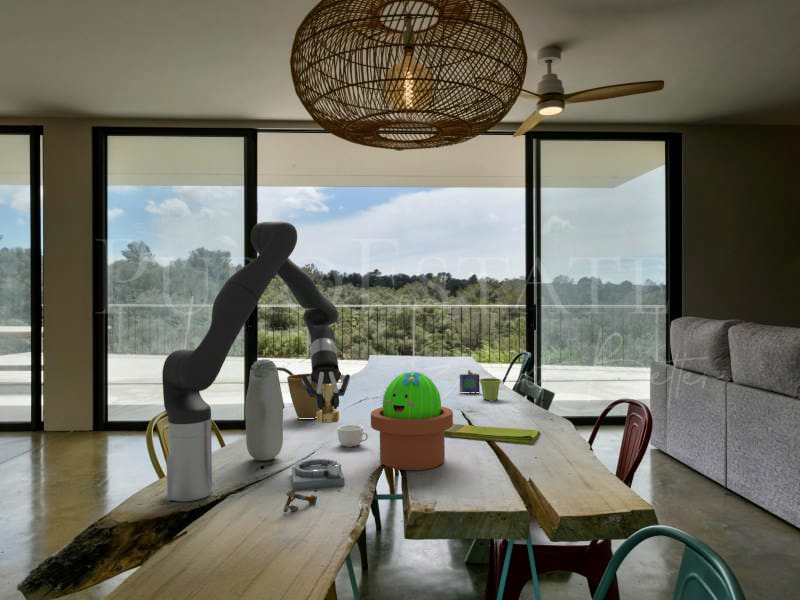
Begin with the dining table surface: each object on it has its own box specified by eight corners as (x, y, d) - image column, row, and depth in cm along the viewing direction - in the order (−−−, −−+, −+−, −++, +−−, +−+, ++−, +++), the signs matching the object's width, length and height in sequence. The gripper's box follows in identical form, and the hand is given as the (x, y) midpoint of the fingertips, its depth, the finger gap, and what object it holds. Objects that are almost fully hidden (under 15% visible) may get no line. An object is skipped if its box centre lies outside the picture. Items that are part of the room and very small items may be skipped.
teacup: (332, 446, 164) (332, 429, 164) (346, 440, 171) (346, 423, 171) (360, 450, 160) (360, 432, 160) (374, 444, 167) (373, 426, 166)
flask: (459, 393, 253) (459, 370, 253) (459, 392, 256) (459, 369, 256) (479, 393, 252) (479, 370, 252) (479, 392, 255) (479, 369, 255)
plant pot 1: (323, 412, 214) (323, 372, 214) (331, 420, 200) (330, 377, 200) (285, 415, 210) (284, 374, 210) (290, 423, 195) (289, 379, 195)
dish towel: (437, 426, 192) (436, 416, 192) (540, 434, 178) (540, 425, 178) (421, 436, 178) (421, 426, 178) (532, 446, 163) (532, 436, 163)
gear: (317, 424, 143) (317, 386, 143) (316, 419, 149) (315, 382, 149) (340, 422, 145) (339, 385, 145) (337, 418, 150) (337, 381, 150)
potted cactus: (395, 446, 163) (394, 363, 163) (464, 455, 153) (463, 367, 153) (356, 467, 144) (355, 372, 144) (432, 479, 134) (431, 377, 134)
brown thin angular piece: (278, 510, 113) (285, 488, 114) (306, 515, 119) (312, 493, 120) (283, 512, 112) (290, 490, 113) (311, 517, 117) (317, 495, 119)
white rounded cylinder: (243, 457, 154) (242, 358, 154) (280, 452, 158) (278, 356, 158) (248, 467, 145) (247, 362, 145) (286, 462, 149) (285, 360, 149)
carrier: (293, 490, 127) (292, 466, 127) (291, 472, 140) (291, 450, 140) (344, 485, 130) (344, 462, 130) (338, 468, 143) (338, 447, 143)
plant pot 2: (503, 401, 232) (502, 381, 232) (481, 401, 232) (480, 381, 232) (499, 397, 242) (499, 378, 242) (478, 397, 242) (478, 378, 242)
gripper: (299, 349, 152) (302, 401, 141) (349, 348, 156) (356, 398, 144) (299, 366, 158) (301, 417, 146) (347, 364, 161) (353, 414, 149)
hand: (328, 407), depth 145 cm, fingers closed on gear, 3 cm apart
